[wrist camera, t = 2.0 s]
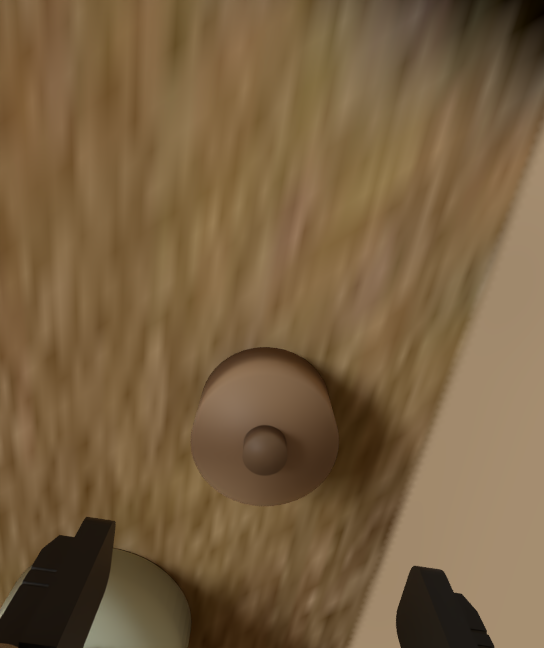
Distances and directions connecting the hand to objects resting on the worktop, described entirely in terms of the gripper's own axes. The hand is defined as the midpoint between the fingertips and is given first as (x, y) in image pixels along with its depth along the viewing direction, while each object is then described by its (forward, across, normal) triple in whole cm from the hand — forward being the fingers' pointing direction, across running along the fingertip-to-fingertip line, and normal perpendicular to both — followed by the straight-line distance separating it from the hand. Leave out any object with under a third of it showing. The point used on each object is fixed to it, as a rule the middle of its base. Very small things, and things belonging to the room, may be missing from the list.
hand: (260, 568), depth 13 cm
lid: (+8, 0, -1) cm, 9 cm away
